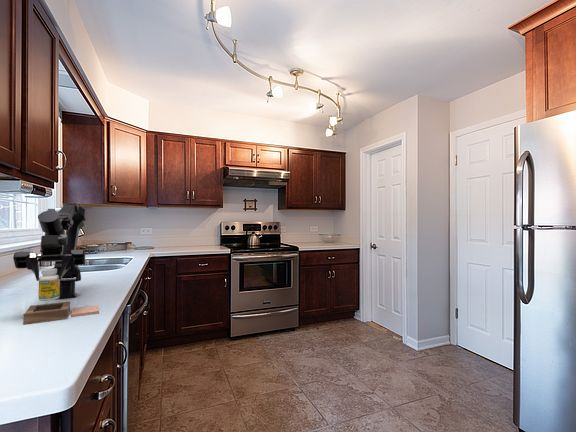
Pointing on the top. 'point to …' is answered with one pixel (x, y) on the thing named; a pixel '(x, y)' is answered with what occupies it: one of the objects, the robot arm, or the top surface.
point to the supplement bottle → (49, 285)
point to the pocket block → (46, 312)
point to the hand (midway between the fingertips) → (48, 279)
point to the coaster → (85, 311)
